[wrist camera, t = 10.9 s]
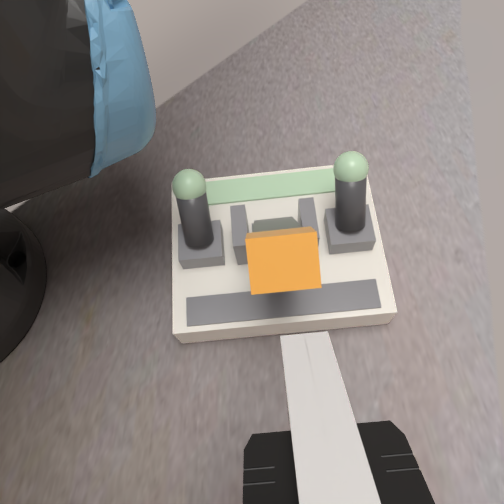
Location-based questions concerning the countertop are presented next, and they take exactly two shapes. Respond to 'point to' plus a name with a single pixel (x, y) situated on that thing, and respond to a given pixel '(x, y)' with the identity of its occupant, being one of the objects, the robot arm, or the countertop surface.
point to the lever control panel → (235, 256)
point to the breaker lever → (282, 256)
